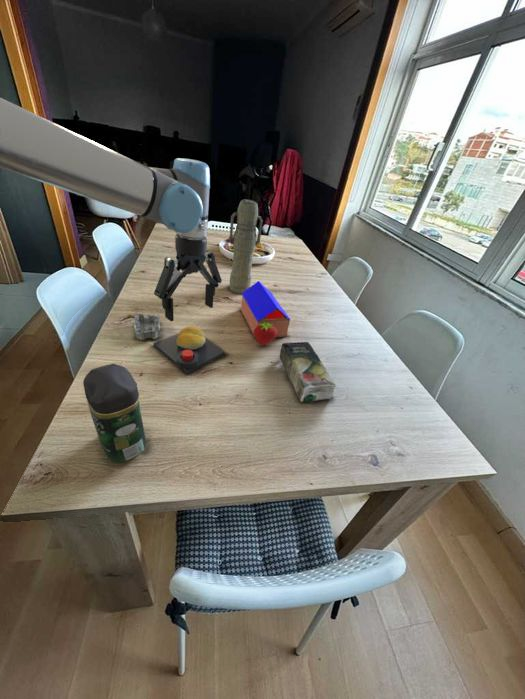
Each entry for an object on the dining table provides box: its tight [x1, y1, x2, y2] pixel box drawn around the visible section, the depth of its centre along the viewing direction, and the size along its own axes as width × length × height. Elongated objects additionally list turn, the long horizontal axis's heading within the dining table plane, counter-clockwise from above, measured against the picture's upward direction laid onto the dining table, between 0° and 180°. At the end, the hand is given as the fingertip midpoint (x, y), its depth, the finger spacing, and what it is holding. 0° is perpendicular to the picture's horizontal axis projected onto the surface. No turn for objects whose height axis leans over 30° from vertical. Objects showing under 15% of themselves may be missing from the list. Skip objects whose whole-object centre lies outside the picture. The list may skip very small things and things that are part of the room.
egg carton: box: [133, 312, 161, 341], centre depth 91 cm, size 11×8×4 cm
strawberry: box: [253, 321, 277, 347], centre depth 92 cm, size 6×8×10 cm
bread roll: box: [176, 326, 206, 350], centre depth 88 cm, size 8×9×4 cm
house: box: [240, 280, 291, 338], centre depth 104 cm, size 12×20×12 cm, turn 18°
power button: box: [182, 350, 193, 361], centre depth 80 cm, size 3×3×2 cm
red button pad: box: [153, 332, 226, 375], centre depth 87 cm, size 16×14×3 cm
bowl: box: [218, 234, 276, 265], centre depth 159 cm, size 30×30×8 cm
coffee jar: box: [82, 363, 147, 464], centre depth 55 cm, size 10×8×19 cm
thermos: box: [229, 198, 264, 295], centre depth 116 cm, size 9×12×35 cm
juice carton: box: [279, 341, 337, 403], centre depth 84 cm, size 20×10×6 cm, turn 16°
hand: (190, 312), depth 83 cm, fingers open, 13 cm apart
